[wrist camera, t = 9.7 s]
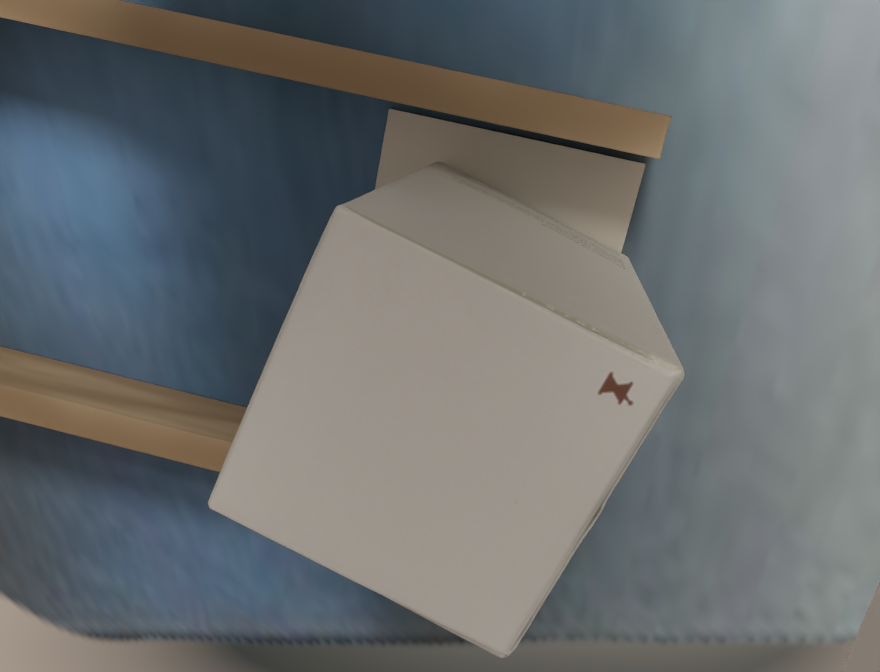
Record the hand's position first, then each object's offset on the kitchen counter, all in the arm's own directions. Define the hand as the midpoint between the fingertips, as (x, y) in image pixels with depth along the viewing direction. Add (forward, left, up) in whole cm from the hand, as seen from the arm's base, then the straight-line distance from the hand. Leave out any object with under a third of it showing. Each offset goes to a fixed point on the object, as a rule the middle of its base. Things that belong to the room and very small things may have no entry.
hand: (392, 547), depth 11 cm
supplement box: (0, 0, -17) cm, 17 cm away
